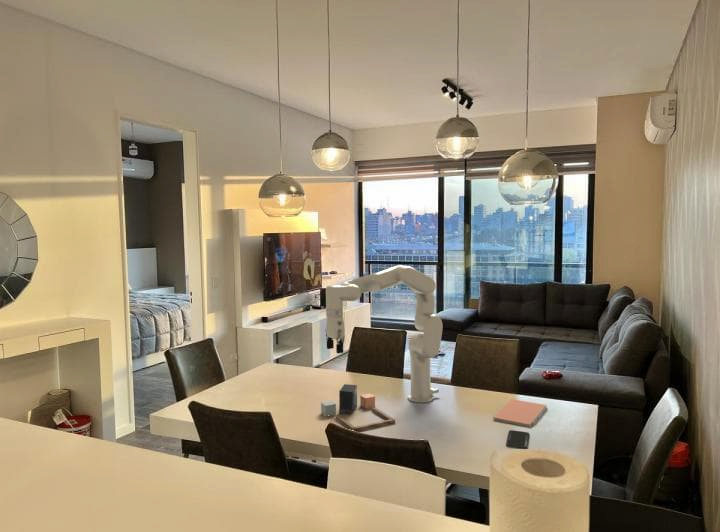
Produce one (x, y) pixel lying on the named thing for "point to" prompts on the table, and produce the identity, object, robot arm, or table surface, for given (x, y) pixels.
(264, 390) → the table surface
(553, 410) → the table surface
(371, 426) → the frame
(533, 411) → the notebook
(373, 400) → the terracotta block
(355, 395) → the small box
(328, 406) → the slate block
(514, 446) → the phone
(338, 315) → the robot arm
